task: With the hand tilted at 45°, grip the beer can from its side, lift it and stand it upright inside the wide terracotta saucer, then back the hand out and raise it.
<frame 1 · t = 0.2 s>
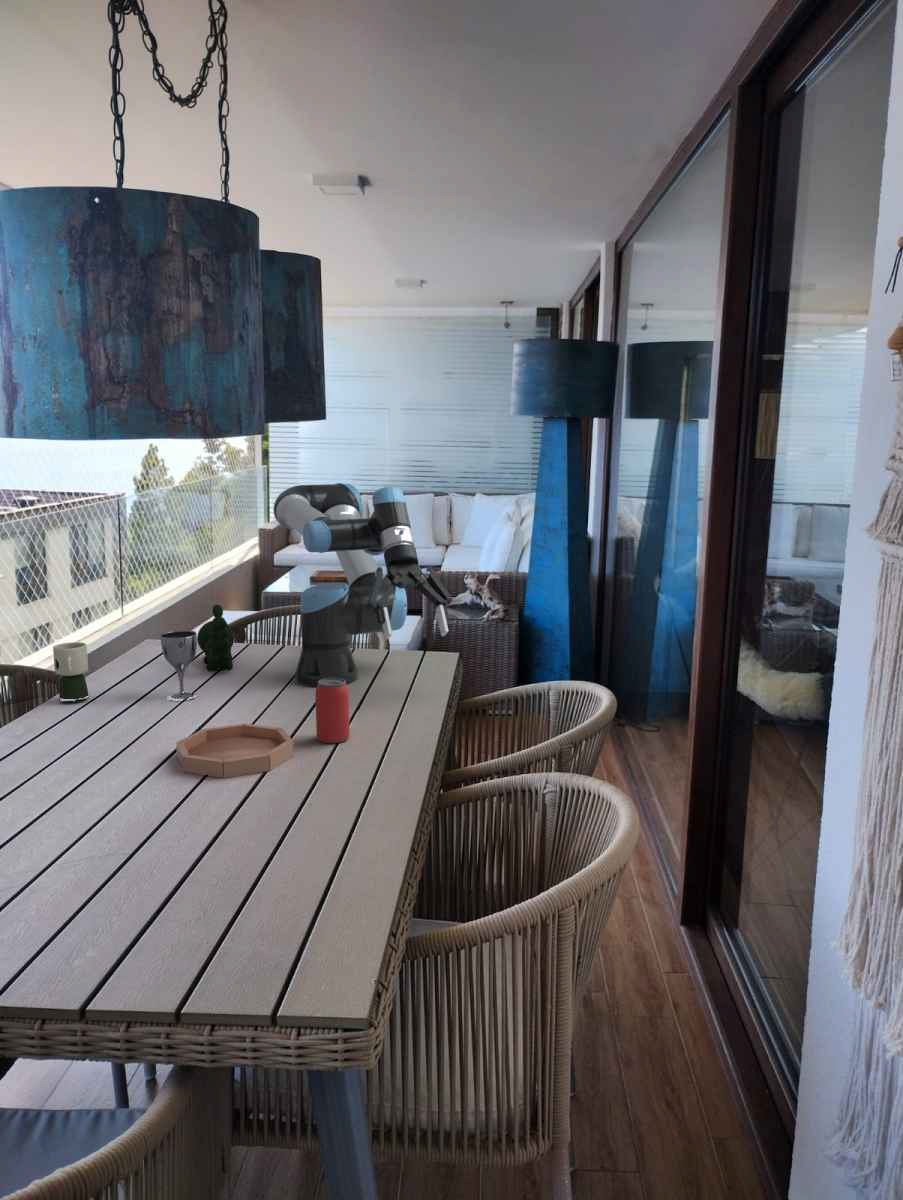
hand: (417, 635, 211), 16 cm above the table, tool tilted 35°, fingers open, 13 cm apart
wine glass: (182, 697, 220), on the table
terracotta saucer: (235, 756, 181), on the table
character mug: (74, 701, 218), on the table
beer can: (333, 740, 191), on the table
toy figurine: (218, 667, 248), on the table
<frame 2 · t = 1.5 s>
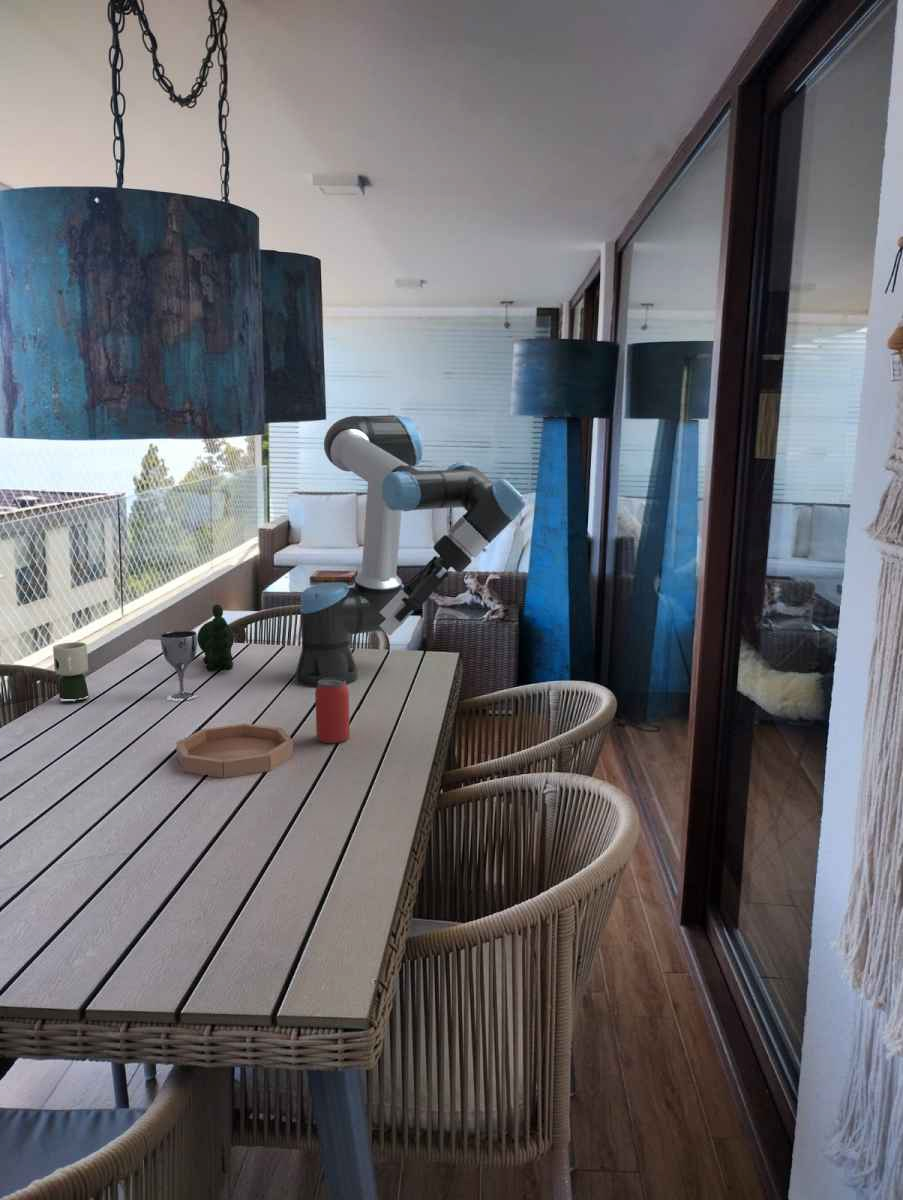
hand: (384, 623, 187), 23 cm above the table, tool tilted 45°, fingers open, 13 cm apart
nothing on the table moved.
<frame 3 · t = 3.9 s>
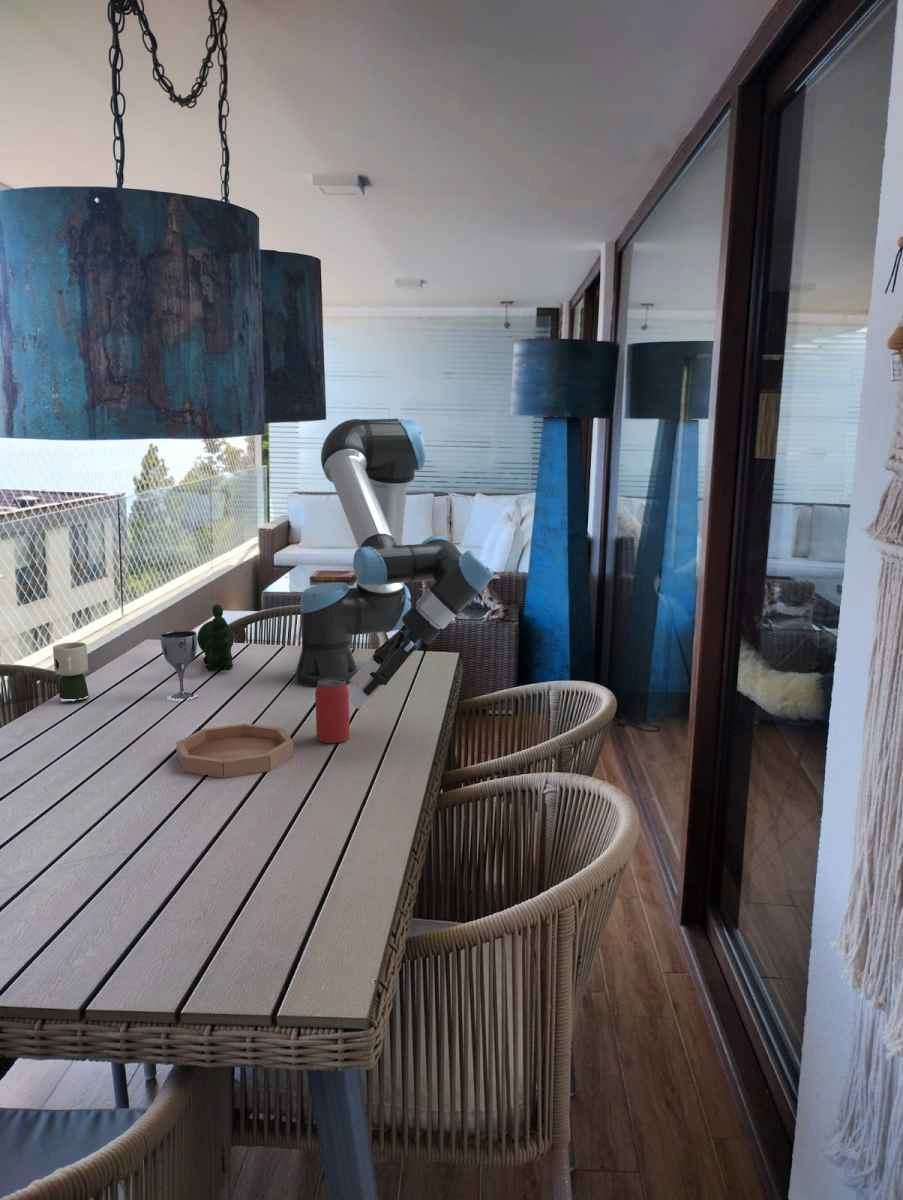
hand: (353, 694, 188), 10 cm above the table, tool tilted 45°, fingers open, 13 cm apart
nothing on the table moved.
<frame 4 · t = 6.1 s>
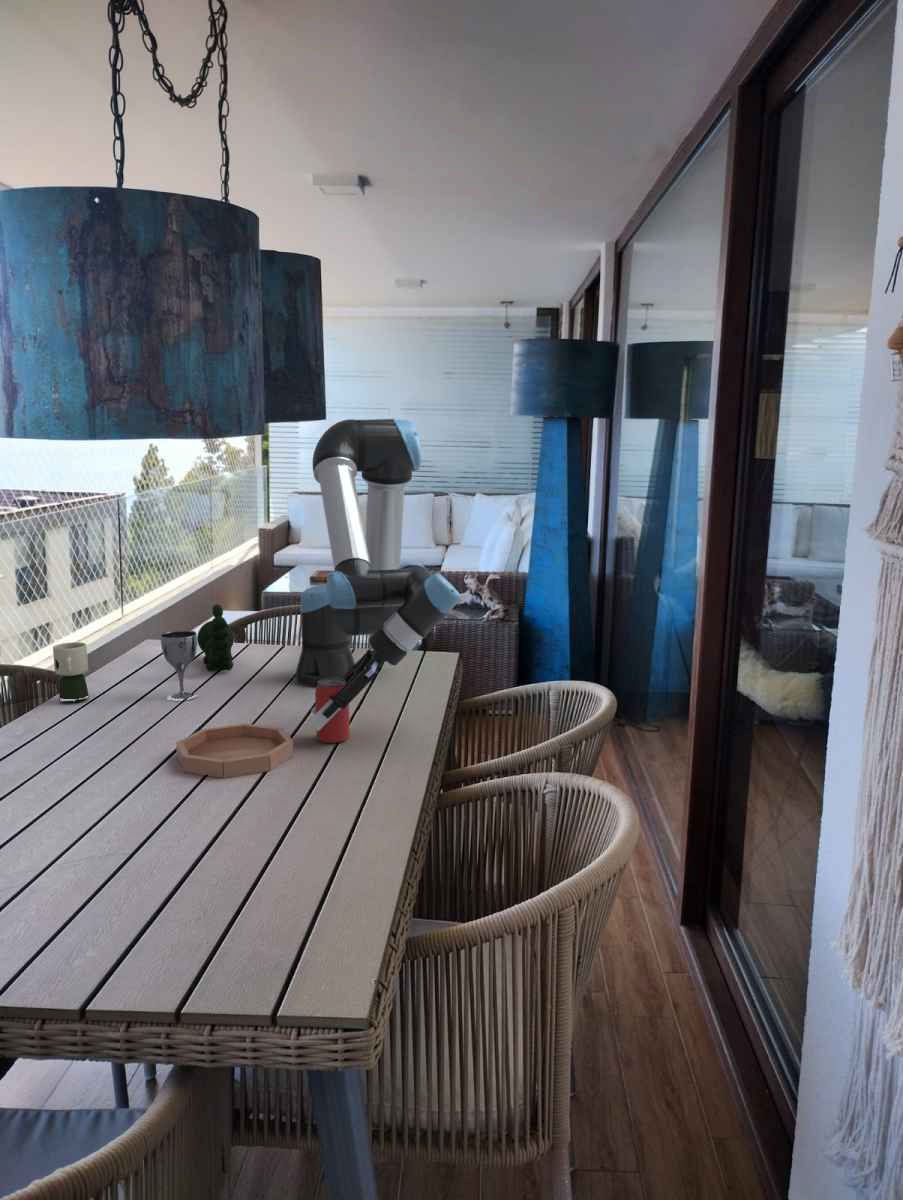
hand: (314, 720, 190), 4 cm above the table, tool tilted 45°, fingers closed on beer can, 6 cm apart
beer can: (333, 739, 191), on the table, touching gripper
everything else where it was.
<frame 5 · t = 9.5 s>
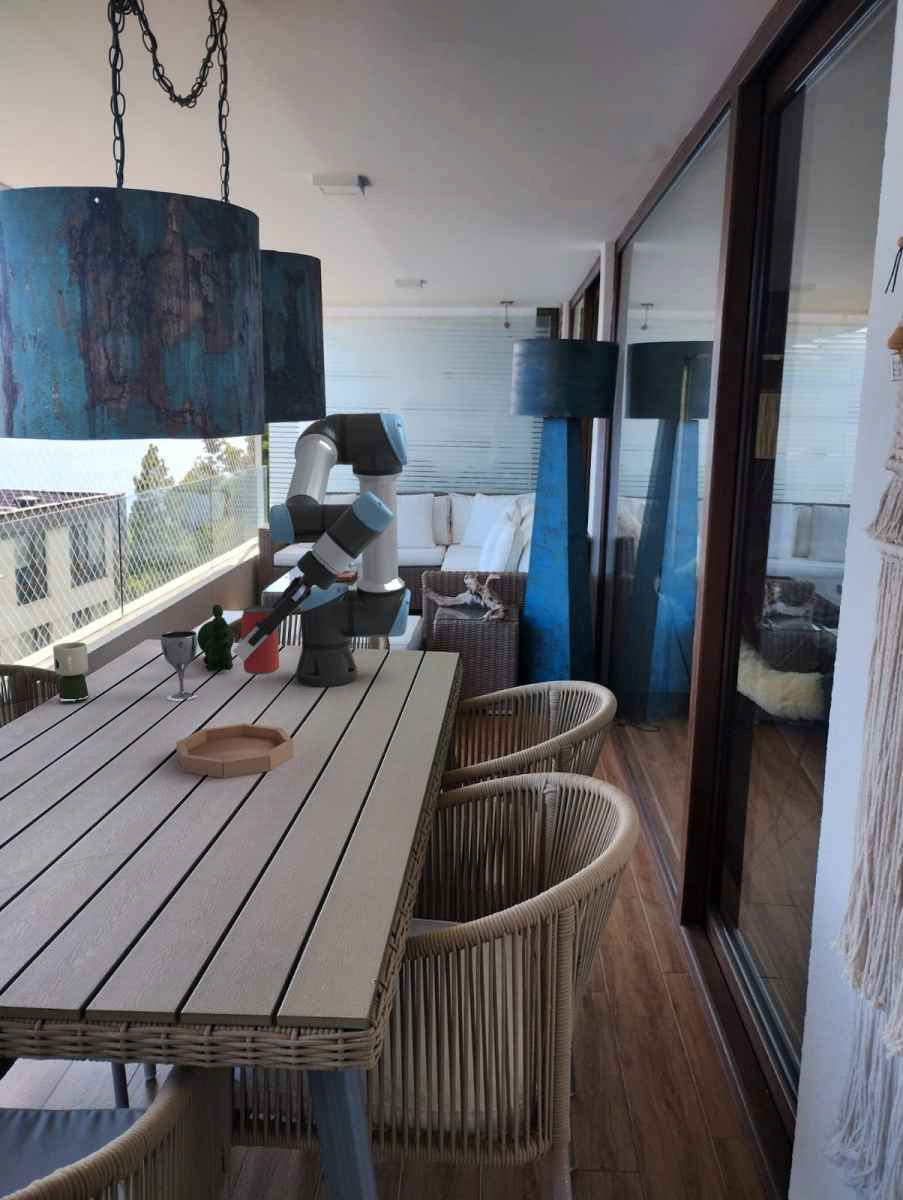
hand: (241, 651, 178), 20 cm above the table, tool tilted 45°, fingers closed on beer can, 6 cm apart
beer can: (261, 671, 179), point 16 cm above the table, touching gripper
everything else where it was.
when the fingers open (6 cm above the table, at t = 12.9 s): beer can drops 1 cm, resting on terracotta saucer.
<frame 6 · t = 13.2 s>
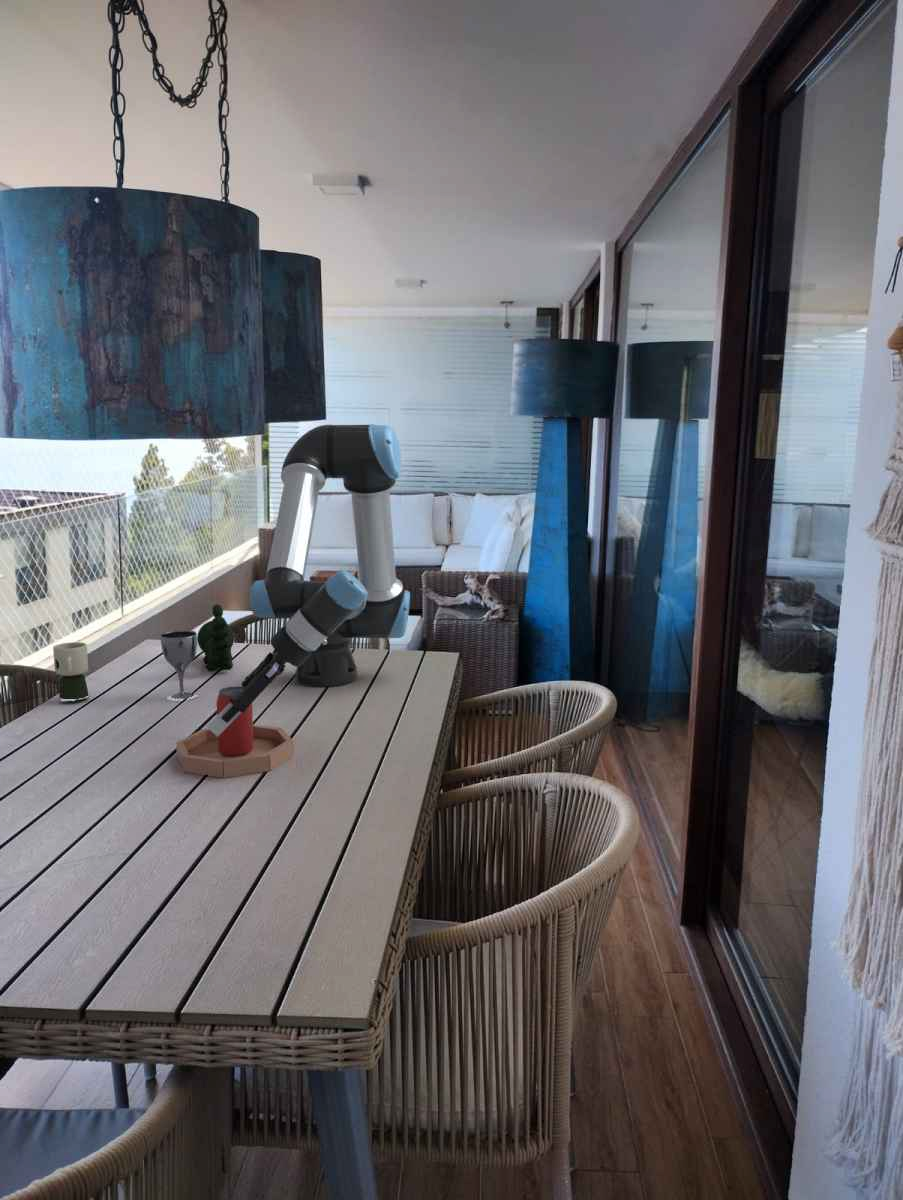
hand: (217, 722, 179), 7 cm above the table, tool tilted 45°, fingers open, 10 cm apart
beer can: (235, 752, 181), point 1 cm above the table, touching terracotta saucer
everything else where it was.
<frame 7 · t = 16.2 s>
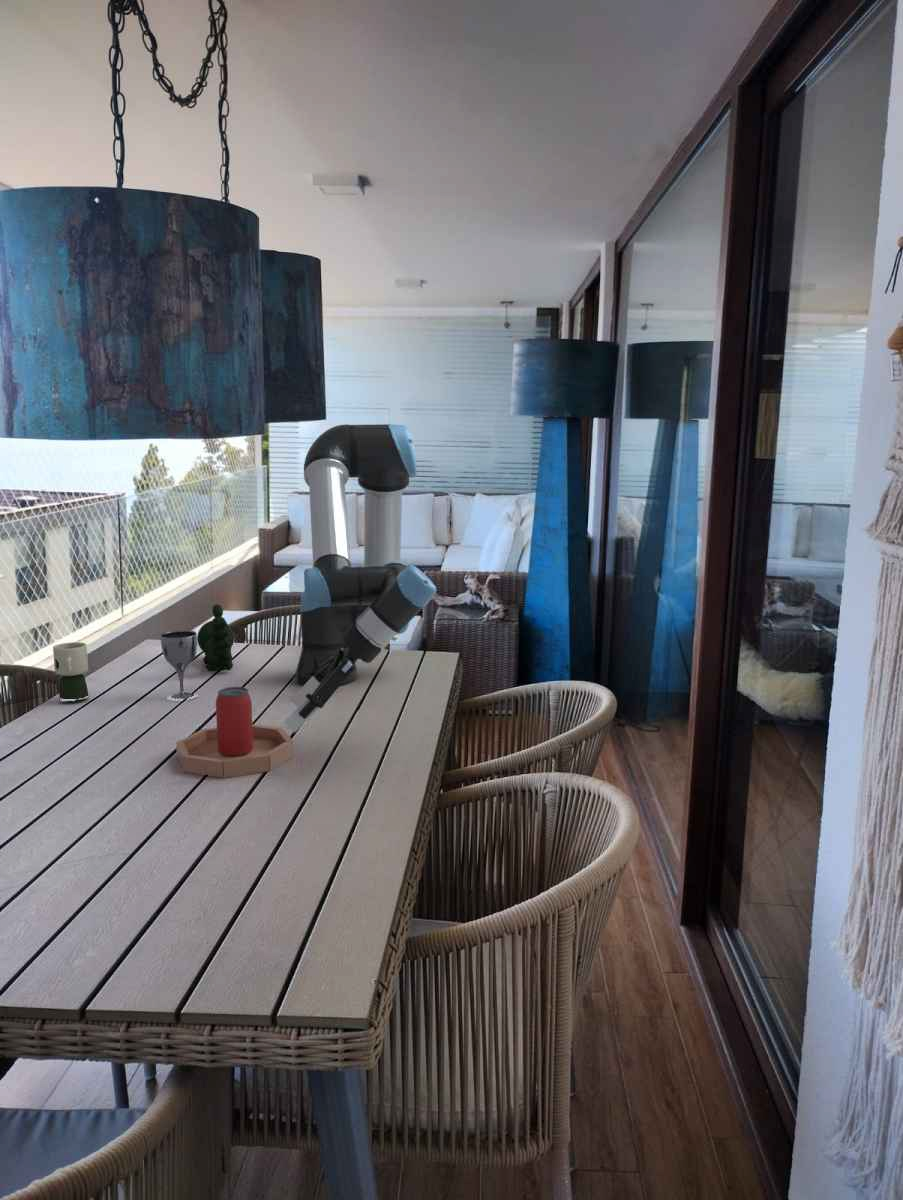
hand: (292, 715, 181), 8 cm above the table, tool tilted 45°, fingers open, 13 cm apart
nothing on the table moved.
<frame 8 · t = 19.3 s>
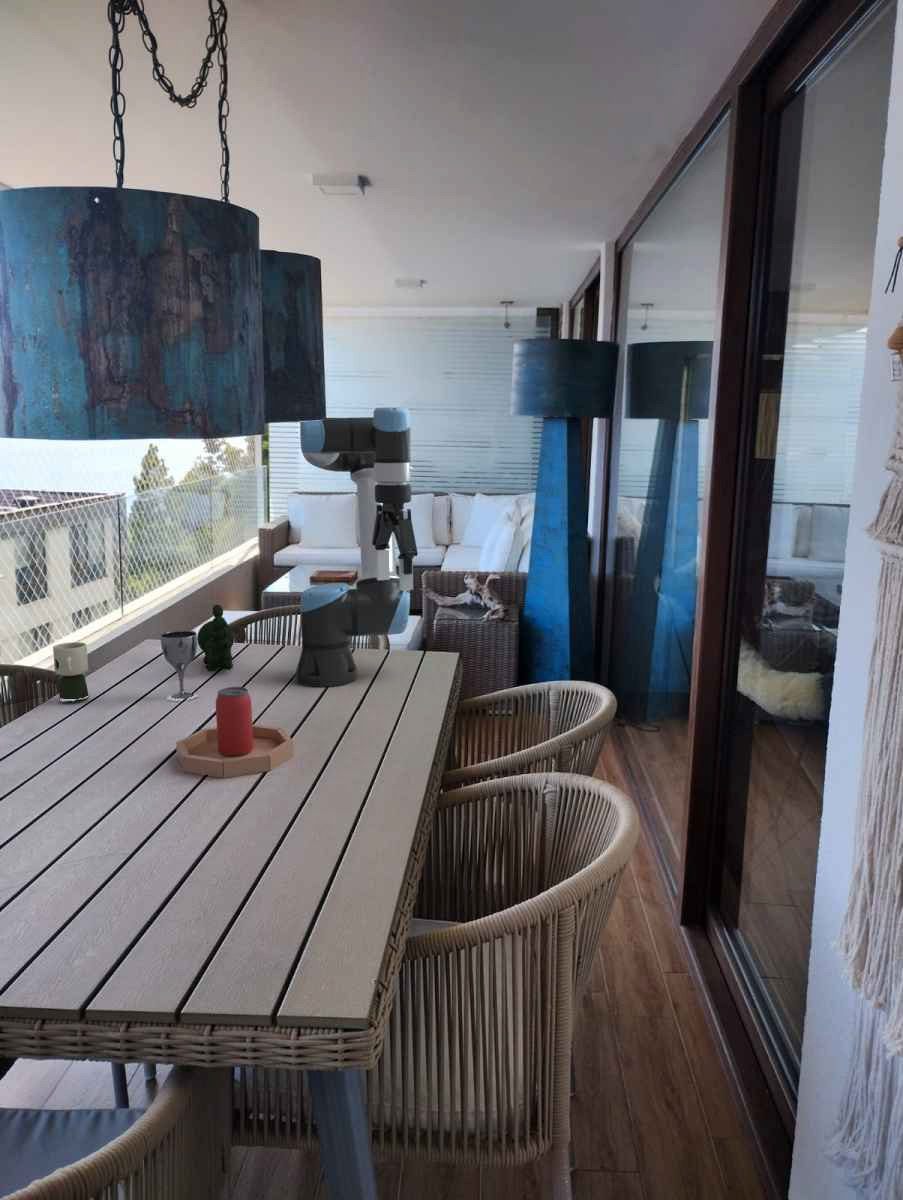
hand: (394, 584, 200), 29 cm above the table, tool pointing down, fingers open, 13 cm apart
nothing on the table moved.
at the end: beer can inside the target area on the terracotta saucer (0.1 cm from its centre), point 0.8 cm above the terracotta saucer's base; beer can tilted 0°; the gripper is holding nothing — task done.
